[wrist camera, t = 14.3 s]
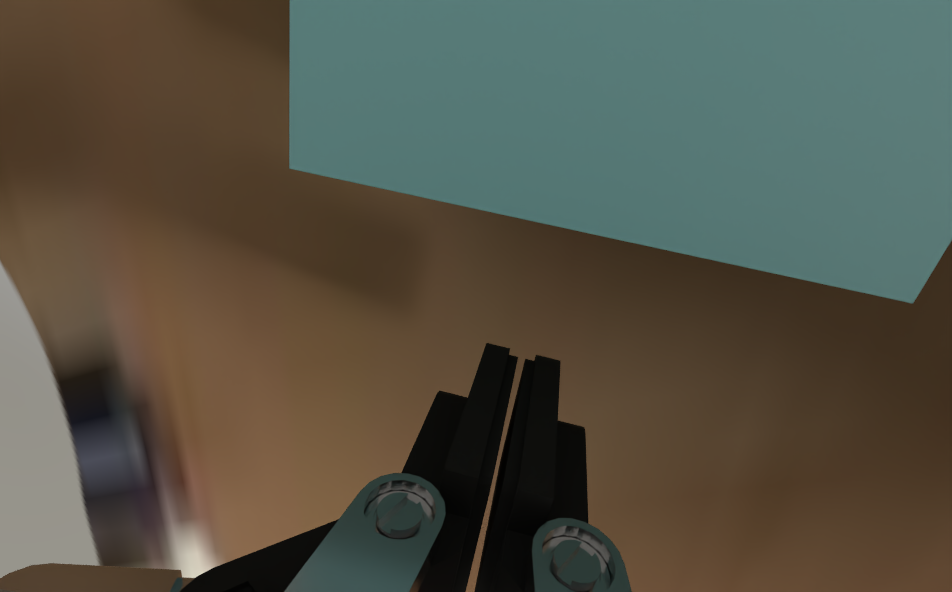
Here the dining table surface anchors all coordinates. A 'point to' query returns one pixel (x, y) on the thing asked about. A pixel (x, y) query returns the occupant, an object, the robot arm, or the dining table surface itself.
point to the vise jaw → (651, 122)
